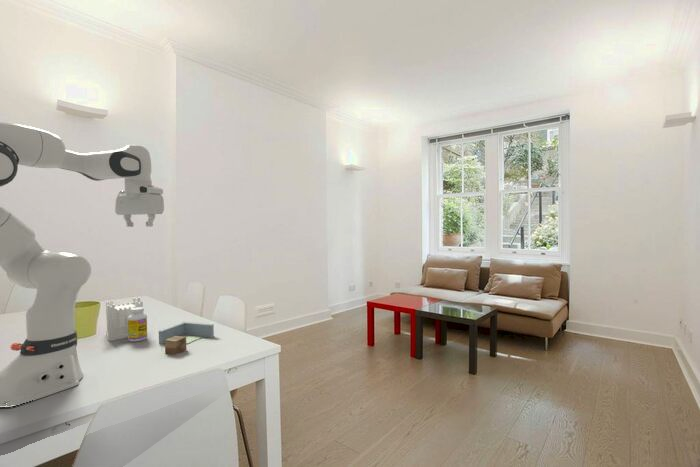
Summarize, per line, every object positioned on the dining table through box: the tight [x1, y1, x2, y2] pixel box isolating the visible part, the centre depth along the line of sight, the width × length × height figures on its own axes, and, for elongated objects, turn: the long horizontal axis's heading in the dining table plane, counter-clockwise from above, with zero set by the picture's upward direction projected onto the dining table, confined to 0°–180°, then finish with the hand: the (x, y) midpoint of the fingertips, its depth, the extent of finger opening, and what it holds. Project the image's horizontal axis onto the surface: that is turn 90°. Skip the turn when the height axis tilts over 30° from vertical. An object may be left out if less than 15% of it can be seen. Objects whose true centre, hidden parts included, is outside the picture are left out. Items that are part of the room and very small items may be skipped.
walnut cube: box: [164, 336, 187, 356], centre depth 132 cm, size 5×5×5 cm
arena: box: [158, 321, 215, 345], centre depth 145 cm, size 14×15×5 cm
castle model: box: [105, 296, 144, 342], centre depth 155 cm, size 13×15×14 cm
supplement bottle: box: [128, 306, 148, 343], centre depth 146 cm, size 7×7×13 cm
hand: (139, 226), depth 135 cm, fingers open, 8 cm apart
